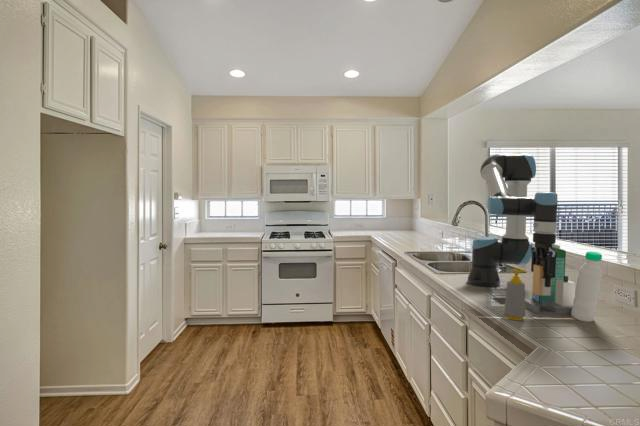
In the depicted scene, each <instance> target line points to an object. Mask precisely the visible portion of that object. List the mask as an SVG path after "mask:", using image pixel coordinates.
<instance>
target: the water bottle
mask: <svg viewBox="0 0 640 426" xmlns="http://www.w3.org/2000/svg"><path fill="white" fill-rule="evenodd" d="M602 259H603V255H602V253H600V252H598V251H597V252H596V251H587V252H585V262H584V263H582V265H581V267H579V269H578V275H577V280H576V283H575V298H574V301H573V307H572V311H571V314H570V315H571V316H572V318H573V319H575V320H577V321H581V322H585V323H588V322H589V323H591V322H593V321H595V317H596V316H595V315H596V310H597V305H598V299H599V296H600V290H601V286H602V278H603V276H604V273H603V271H602V267H601V265H600V263H601V261H602Z"/></svg>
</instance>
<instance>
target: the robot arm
mask: <svg viewBox="0 0 640 426" xmlns="http://www.w3.org/2000/svg"><path fill="white" fill-rule="evenodd" d="M536 174H537V164H536V160H535V157H534V156H533V155H532V154H530V153H496V154H493V155H491V156H490V157H488V158H486V159H485V160H484V161H483V162H482V164H481V166H480V176H481V178H482V179H483V181H485V185H486V186H487V190H488V193H489V198H488V200H487V212H488V214H490V215H494V216H495V215H496V216H506V217H505V218H506V221H505V233H504V234H503V235H502V237H501V239H499V238H498V237H497V236H481V237H477V238H474V239H473V241H472V247H471V249H472V253H471V268H470V271H469V272H468V276H467V283H468V284H470V285H473V286H479V287H488V288H489V287H491V288H492V287H500V285H501V279H500V275H499V272H498V264H502V265H504V264H505V265H518V266H519V265H520V266H521V265H524V266H525V265H527V264H529V262H531V264H530V265H531V267H530V272H531V273H533V267H534V265H540V261H541V260H542V261H543V272H544V277H542V295H550V285H551V278H555V270H556V257H557V251H553V249H552V244H556V238H557V235H556V233H557V220H558V219H557V216H558V215H557V214H558V203H559V200H558V194H557V193H556V192H552V191H551V192H550V191H549V192H548V191H546V192H545V191H543V192H541V191H539V192H538V191H537V192H535V194H534V196H533V197H530V196H529V197H528V185H529V184H530V183H531V182H532V179H534V178H535V177H536ZM528 216H529V217H530V216H531V217H533V224H532V225H533V229H532V230H533V234H532V241H530V240H529V237H528V236H527V234H526V227H527V226H526V225H527V217H528ZM532 242H533V243H534V244H535V243H536V246H535V245H534V246H533V243H532Z"/></svg>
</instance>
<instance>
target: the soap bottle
mask: <svg viewBox="0 0 640 426" xmlns="http://www.w3.org/2000/svg"><path fill="white" fill-rule="evenodd" d="M511 270H512V271H514V272H513V274H514V276H512V278H510V280H509V281H507V282H506V291H505V298H506V300H505V305H504V311H503V312H504V313H503V314H504V315H505V317H506V319H509V320H513V321H522V320H524V318H525V317H526V307H525V301H526V289H525V288H526V287H525V285H526V284H525V282H522V280H521V278H520V276H519V275H520V274H519V273H527V270H521V269H516V268H511Z"/></svg>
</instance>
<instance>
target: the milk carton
mask: <svg viewBox="0 0 640 426" xmlns="http://www.w3.org/2000/svg"><path fill="white" fill-rule="evenodd" d="M535 246H536V243H535V242H534V247H535ZM552 249H553V251H557V257H556V270H555V278H552V279H551V296H539V295H537V294H534V293H532V299H533V300H535V301H536V302H537V304H542V301H555V296H556V280H563V276H566V255H567V251H566V250H565V249H562V248H561V245H559V244H556V243H554V244H552Z"/></svg>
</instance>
